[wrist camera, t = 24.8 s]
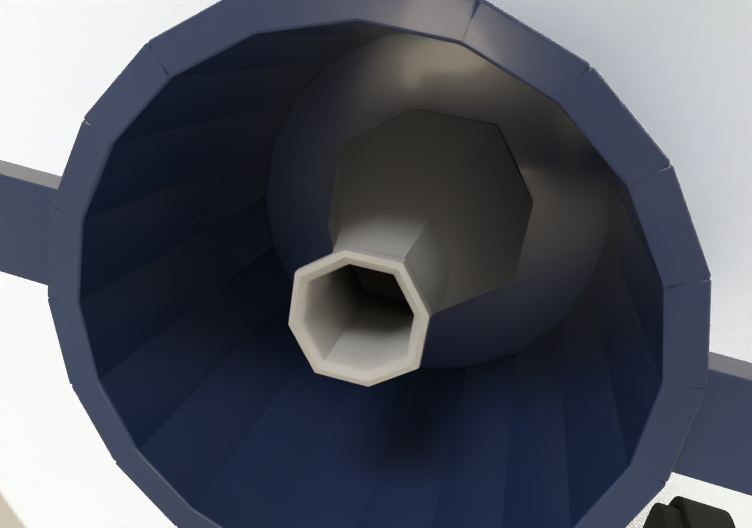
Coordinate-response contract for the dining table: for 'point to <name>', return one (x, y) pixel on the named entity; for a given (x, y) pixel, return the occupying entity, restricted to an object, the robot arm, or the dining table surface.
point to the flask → (408, 242)
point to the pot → (312, 242)
